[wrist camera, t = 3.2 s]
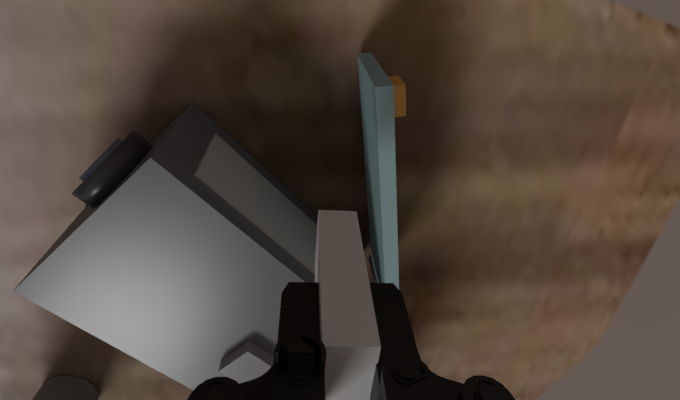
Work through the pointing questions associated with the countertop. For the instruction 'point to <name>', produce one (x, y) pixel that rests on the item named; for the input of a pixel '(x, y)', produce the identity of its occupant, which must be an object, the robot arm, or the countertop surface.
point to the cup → (66, 389)
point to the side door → (381, 162)
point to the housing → (180, 253)
